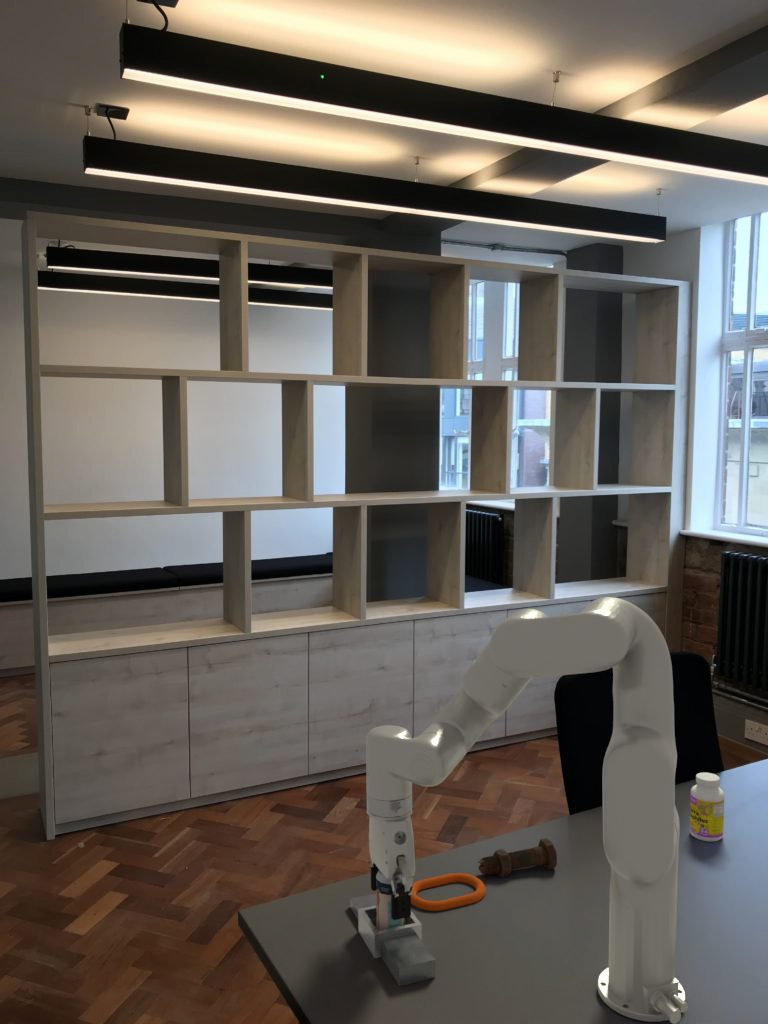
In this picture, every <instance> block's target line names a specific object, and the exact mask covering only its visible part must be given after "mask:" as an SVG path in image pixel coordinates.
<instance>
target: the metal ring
mask: <svg viewBox="0 0 768 1024" xmlns="http://www.w3.org/2000/svg"><path fill="white" fill-rule="evenodd" d="M452 883H463V884H468V885H471V886H473V888H475V891H474V892H471V893H467V894H463V895H459V896H455V897H451V898H446V899H442V900H436V901H435V900H426V899H424V898H421V897H419V896H418V895H417V893H418V892H420V891H423V890H425V889H426V890H427V889H430V888H434V887H439V886H443V885H448V884H452ZM486 890H487V889H486V885H485V883H484V882H483V881H482V880H481V879H480V878H478V877H476V876H474V875H472V874H469V873H464V872H463V873H462V872H454V873H453V872H452V873H447V874H443V875H442V874H441V875H438V876H433V877H430V878H423V879H420V880H417V881H415V882H413V883H412V894H411V906H412V905H413V906H414V907H416V908H417V909H420V910H423V911H430V912H441V911H446V910H450V909H454V908H458V907H462V906H463V907H464V906H467V905H471V904H474V903H477V902H479V901H481V900H482V899H484V897H485V895H486V892H487V891H486Z"/></svg>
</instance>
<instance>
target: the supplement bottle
mask: <svg viewBox="0 0 768 1024" xmlns="http://www.w3.org/2000/svg"><path fill="white" fill-rule="evenodd" d="M695 782H696V784H695V785H693V786H692V787H691V789H690V807H689V810H690V811H689V833H690V835H691V836H692V837H694V838H695V839H697V840H700V841H704V842H711V843H714V842H718V841H720V840H721V839H723V836H724V823H725V822H724V816H725V792H724V791H723V790H722V788H720V787H719V786H720V784H721V778H720V777H719V776H718V775H717V774H715V773H711V772H699V773H696V775H695Z"/></svg>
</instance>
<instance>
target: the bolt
mask: <svg viewBox="0 0 768 1024" xmlns="http://www.w3.org/2000/svg"><path fill="white" fill-rule="evenodd" d="M477 863H479V865H478V871H479V872H480V874H482V875H483V876H490V875H495V874H497V875H499V877H502V876H505V877H507V876H506V875H509V876H510V874H511V873H512V871H514V870H519V869H524V868H529V867H534V866H544V865H545V866H546V867H545V866H544V867H545V869H546V870H548V869H550V870H554V869H556V866H557V864H558V854H557V850H556V847H555V845H554V843H553V842H552V840H550V839H549V838H546V837H545V838H540V840H539V842H538V845H536V846H534V847H531V848H526V849H525V848H524V849H520V850H516V851H511V852H510V851H509V852H508V851H506V850H505V849H503V848H499V849H496V850H495V851H494V852H493V855H490V856H485V857H482V858H481V859H479V860H478V861H477ZM543 864H544V865H543Z"/></svg>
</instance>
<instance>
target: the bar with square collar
mask: <svg viewBox="0 0 768 1024" xmlns="http://www.w3.org/2000/svg"><path fill="white" fill-rule="evenodd" d="M349 907H350V910H351V911H352V912H353V914H354V916H355V917H356V919H357V922H358V927H357V928H358V933H359V935H360V936H361V938H362V939H363V941H364V944H366V946H367V948H368V950H369V952H370V953H371V956H372V957H373V958H374V959H378V958H381V960H383V963H384V964H385V966H386V967H387V968H388V971H389V973H390V974H391V975H392V977H393V978H394V980H395V982H396V983H397V984H398V986H399V987H402V986H406V985H411V984H414V983H418V982H422V981H427V980H432V979H436V958H435V957H434V956H433V955H432V952H431V951H430V950H429V949H428V947H427V945H425V943H424V942H423V933H422V932H423V927H422V926H423V924H422V923H421V921H420V920H419V919H418V918H417V916H416V915H415V913H414V912H413V911H412V910H411V916H410V917H406V918H404V926H399V927H394V928H390V929H385V930H380V931H377V915H376V893H372V894H368V895H367V894H366V895H362V896H357V897H351V898H349Z"/></svg>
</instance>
